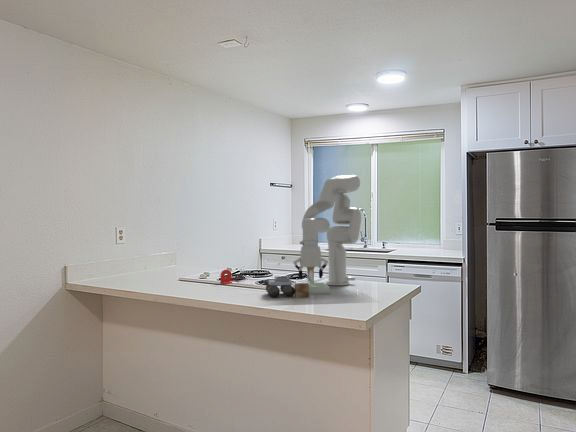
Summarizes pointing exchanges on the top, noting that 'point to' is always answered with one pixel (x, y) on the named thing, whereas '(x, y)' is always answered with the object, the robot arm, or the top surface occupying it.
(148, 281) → the top surface
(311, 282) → the pin
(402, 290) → the top surface
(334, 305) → the top surface
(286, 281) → the trolley
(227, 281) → the bracket
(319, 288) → the tray
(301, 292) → the chock
